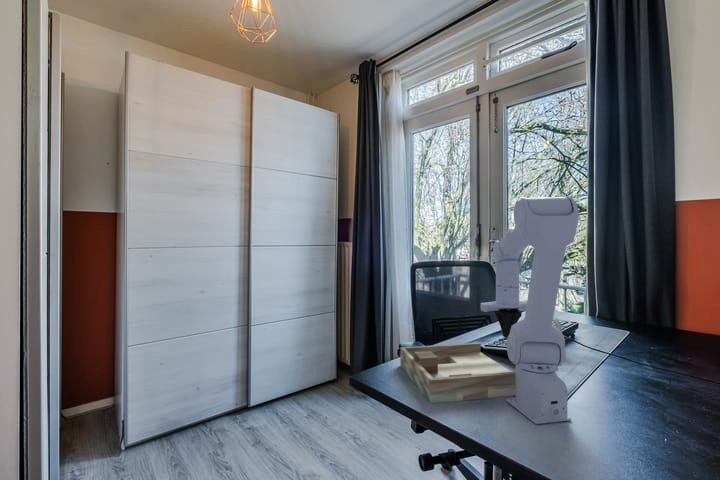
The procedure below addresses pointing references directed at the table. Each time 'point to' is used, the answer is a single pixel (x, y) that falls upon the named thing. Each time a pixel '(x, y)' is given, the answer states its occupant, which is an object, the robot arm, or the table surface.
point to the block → (427, 361)
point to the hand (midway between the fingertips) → (507, 337)
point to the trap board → (458, 373)
